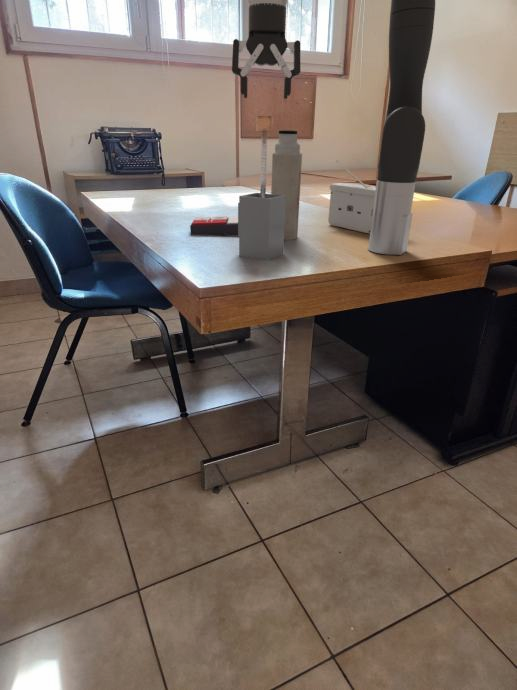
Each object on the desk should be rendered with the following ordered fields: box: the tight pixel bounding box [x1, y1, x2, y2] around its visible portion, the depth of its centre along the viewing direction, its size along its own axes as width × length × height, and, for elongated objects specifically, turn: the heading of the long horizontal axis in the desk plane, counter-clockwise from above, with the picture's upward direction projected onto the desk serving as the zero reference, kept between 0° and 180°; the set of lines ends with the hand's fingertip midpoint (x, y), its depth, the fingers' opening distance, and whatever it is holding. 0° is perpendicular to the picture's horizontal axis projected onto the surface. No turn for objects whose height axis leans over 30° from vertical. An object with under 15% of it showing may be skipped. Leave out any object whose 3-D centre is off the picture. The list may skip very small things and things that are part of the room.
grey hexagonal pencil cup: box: [237, 192, 286, 261], centre depth 109 cm, size 10×8×14 cm
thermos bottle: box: [270, 129, 303, 241], centre depth 125 cm, size 8×8×28 cm
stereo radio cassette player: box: [327, 160, 376, 235], centre depth 140 cm, size 21×8×20 cm, turn 37°
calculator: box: [189, 215, 238, 236], centre depth 136 cm, size 11×4×15 cm
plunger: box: [255, 115, 274, 198], centre depth 103 cm, size 6×6×20 cm
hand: (265, 98), depth 97 cm, fingers open, 8 cm apart
